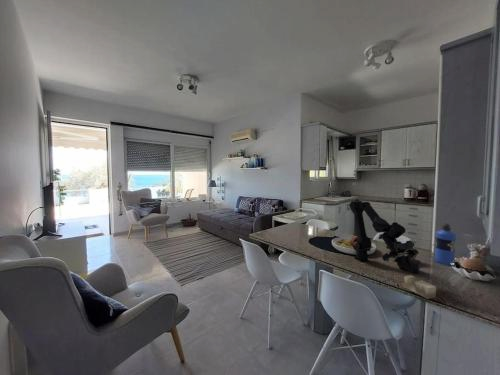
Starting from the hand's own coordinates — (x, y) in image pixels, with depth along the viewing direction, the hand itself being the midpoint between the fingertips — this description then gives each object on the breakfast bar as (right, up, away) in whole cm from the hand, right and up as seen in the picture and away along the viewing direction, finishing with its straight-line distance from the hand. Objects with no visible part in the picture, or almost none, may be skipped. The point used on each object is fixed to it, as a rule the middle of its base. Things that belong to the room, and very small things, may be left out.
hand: (411, 271), depth 102 cm
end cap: (+14, -7, +19) cm, 25 cm away
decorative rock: (+21, -7, +32) cm, 39 cm away
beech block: (-1, -6, +3) cm, 6 cm away
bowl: (-2, -6, +55) cm, 55 cm away
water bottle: (+44, -7, +29) cm, 53 cm away
